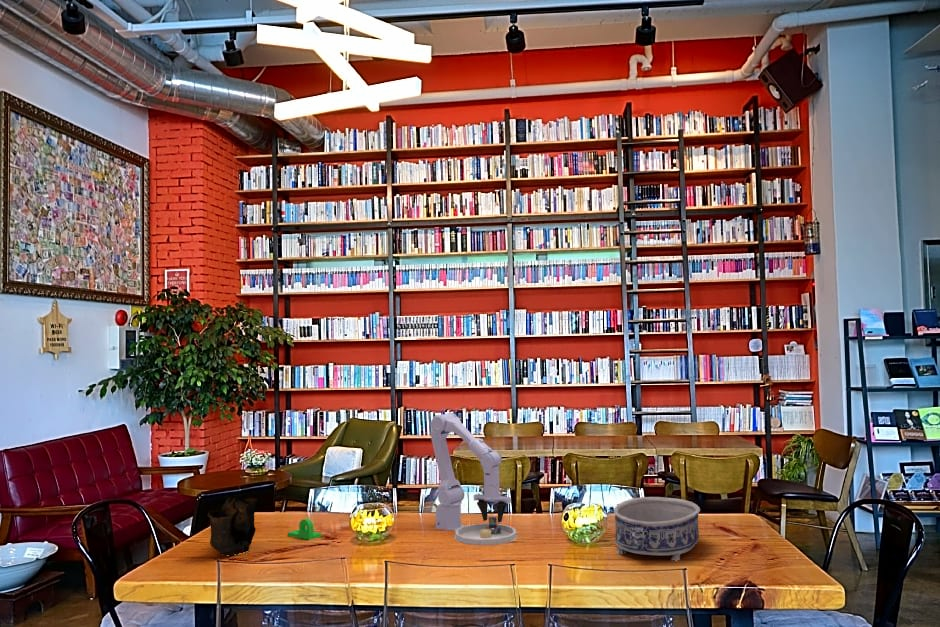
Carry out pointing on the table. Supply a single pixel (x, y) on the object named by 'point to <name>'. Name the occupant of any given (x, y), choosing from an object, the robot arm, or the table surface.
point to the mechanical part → (305, 530)
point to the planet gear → (493, 525)
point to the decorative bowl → (656, 526)
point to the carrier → (484, 535)
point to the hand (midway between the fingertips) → (492, 521)
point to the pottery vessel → (233, 525)
